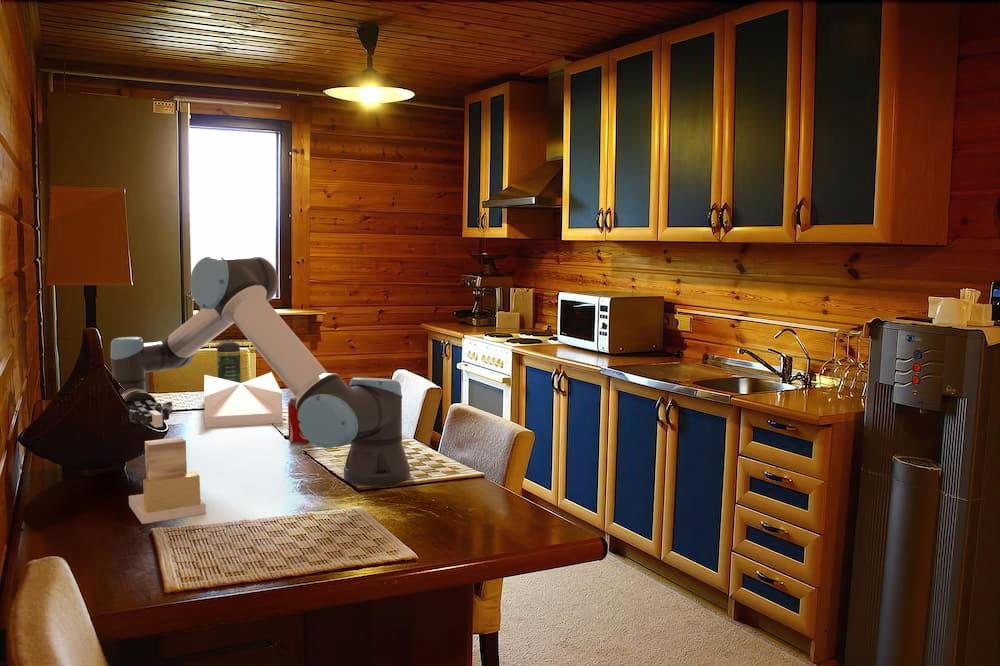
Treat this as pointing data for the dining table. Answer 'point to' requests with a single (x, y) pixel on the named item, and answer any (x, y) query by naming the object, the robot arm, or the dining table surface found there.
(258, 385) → the building model
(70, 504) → the dining table surface
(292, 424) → the beverage can
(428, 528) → the dining table surface
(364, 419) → the robot arm
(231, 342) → the coffee jar
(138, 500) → the base
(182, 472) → the wooden tall block
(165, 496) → the contact block
